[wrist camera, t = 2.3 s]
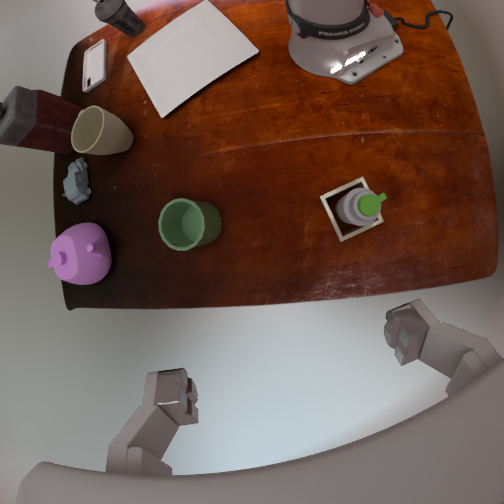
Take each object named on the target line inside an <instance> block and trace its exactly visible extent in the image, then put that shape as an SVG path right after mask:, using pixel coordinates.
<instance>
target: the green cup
mask: <svg viewBox="0 0 504 504" xmlns="http://www.w3.org/2000/svg"><path fill="white" fill-rule="evenodd" d="M221 226H222V220H221V216H220V213H219V211H218V210H217V208H216V207H215V206H214V205H212V204H211V203H209V202H206V201H203V200H194V199H186V198H181V199H175V200H173V201H171V202H170V203H168V204H167V205H166V206H165V207H164V209H163V210H162V211H161V214H160V218H159V232H160V235H161V237H162V239H163V241H164V242H165V243H166V244H167V245H168V246H169V247H170V248H173V249H175V250H178V251H183V250H190V249H194V248H197V247H201V246H205V245H207V244H210V243H211V242H213V241H214V240H215V239H216V238H217V237H218V235H219V233H220V231H221Z"/></svg>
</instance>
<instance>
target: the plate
mask: <svg viewBox="0 0 504 504" xmlns="http://www.w3.org/2000/svg"><path fill="white" fill-rule="evenodd" d="M258 52H259V50H258V49H257V48H256V47H255V46H254V45H253V44H252V43H251V42H250V41H249V40H248V39H247V38H246V37H245V36H244V35H243V34H242V32H241V31H240V30H239V29H238V28H237V27H236V26H235V25H233V24H232V23H231V22H230V21H229V20H228V19H227V18H226V17H225V16H224V15H223V14H222V13H221V12H220V11H219V10H218V9H217V8H216V7H214V6H213V5H212V4H211V3H210V2H209V1H208V0H205V1H203V2H201V3H200V4H198V5H196V6H195V7H193V8H191V9H190V10H188V11H187V12H185V13H184V14H182V15H181V16H179V17H178V18H176V19H175V20H173V21H172V22H170V23H169V24H167V25H166V26H165V27H163V28H162V29H161V30H159V31H158V32H156V33H155V34H154V35H152V36H151V37H150V38H149V39H147V40H146V41H145V42H144V43H142V44H141V45H140V46H139V47H137V48H136V49H135V50H134V51H133V52H131V53H130V54H129V55H128V56H127V58H128V60H129V62H130V63H131V65H132V67H133V69H134V70H135V72H136V74H137V76H138V77H139V79H140V81H141V83H142V85H143V86H144V88H145V90H146V92H147V93H148V95H149V97H150V99H151V100H152V102H153V104H154V106H155V107H156V109H157V111H158V113H159V114H160V116H161V117H164V116H166V115H167V114H168V113H169V112H171V111H172V110H173V109H174V108H176V107H177V106H178V105H180V104H181V103H182V102H184V101H185V100H186V99H188V98H189V97H190V96H192V95H193V94H194V93H196V92H197V91H199V90H200V89H201V88H203V87H204V86H206V85H207V84H209V83H210V82H212V81H213V80H215V79H216V78H218V77H219V76H221V75H222V74H224V73H225V72H227V71H228V70H230V69H232V68H233V67H235V66H236V65H238V64H240V63H241V62H243V61H245V60H246V59H248V58H250V57H251V56H253V55H255V54H257V53H258Z"/></svg>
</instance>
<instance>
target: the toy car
mask: <svg viewBox="0 0 504 504" xmlns="http://www.w3.org/2000/svg"><path fill="white" fill-rule="evenodd" d="M83 161H84V159H83V158H80V159H76V162H73V163H71V164H70V166H69V167H68V169H69V172H68V177H67V178H66V179H65V180H63V182H64V190H65V194H63V195H62V196H67V198H68V199H69V200H70V201H72V202H74V204H75V205H78V204H80V203H81V202H83V201H85V200H87V199H88V198H89V195H90V194H91V189H90V188H89V187H87V186H88V184H89V182H88V175H87V167H88V165H87V163H86V162H83Z"/></svg>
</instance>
